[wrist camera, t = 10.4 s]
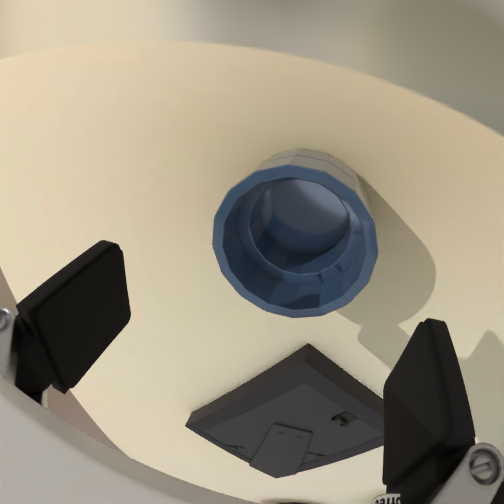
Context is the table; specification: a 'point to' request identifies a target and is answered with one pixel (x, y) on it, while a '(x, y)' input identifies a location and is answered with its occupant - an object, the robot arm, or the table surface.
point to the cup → (387, 499)
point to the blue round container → (297, 235)
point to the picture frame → (294, 416)
